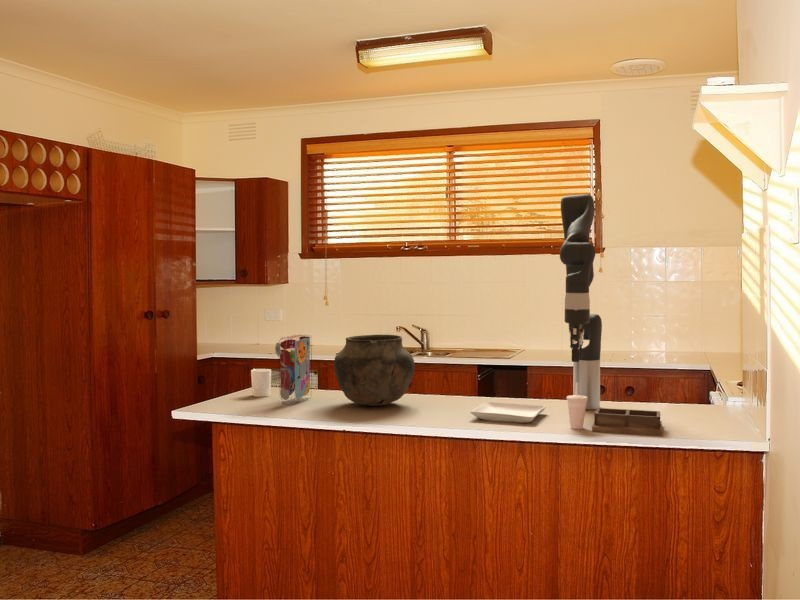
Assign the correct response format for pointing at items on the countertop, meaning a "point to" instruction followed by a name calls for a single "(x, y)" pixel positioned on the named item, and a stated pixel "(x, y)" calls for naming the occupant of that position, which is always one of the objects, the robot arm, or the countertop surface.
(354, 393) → the pot
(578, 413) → the smoothie
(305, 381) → the box
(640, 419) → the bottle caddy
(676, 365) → the countertop surface
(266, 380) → the white cup
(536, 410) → the salad plate
